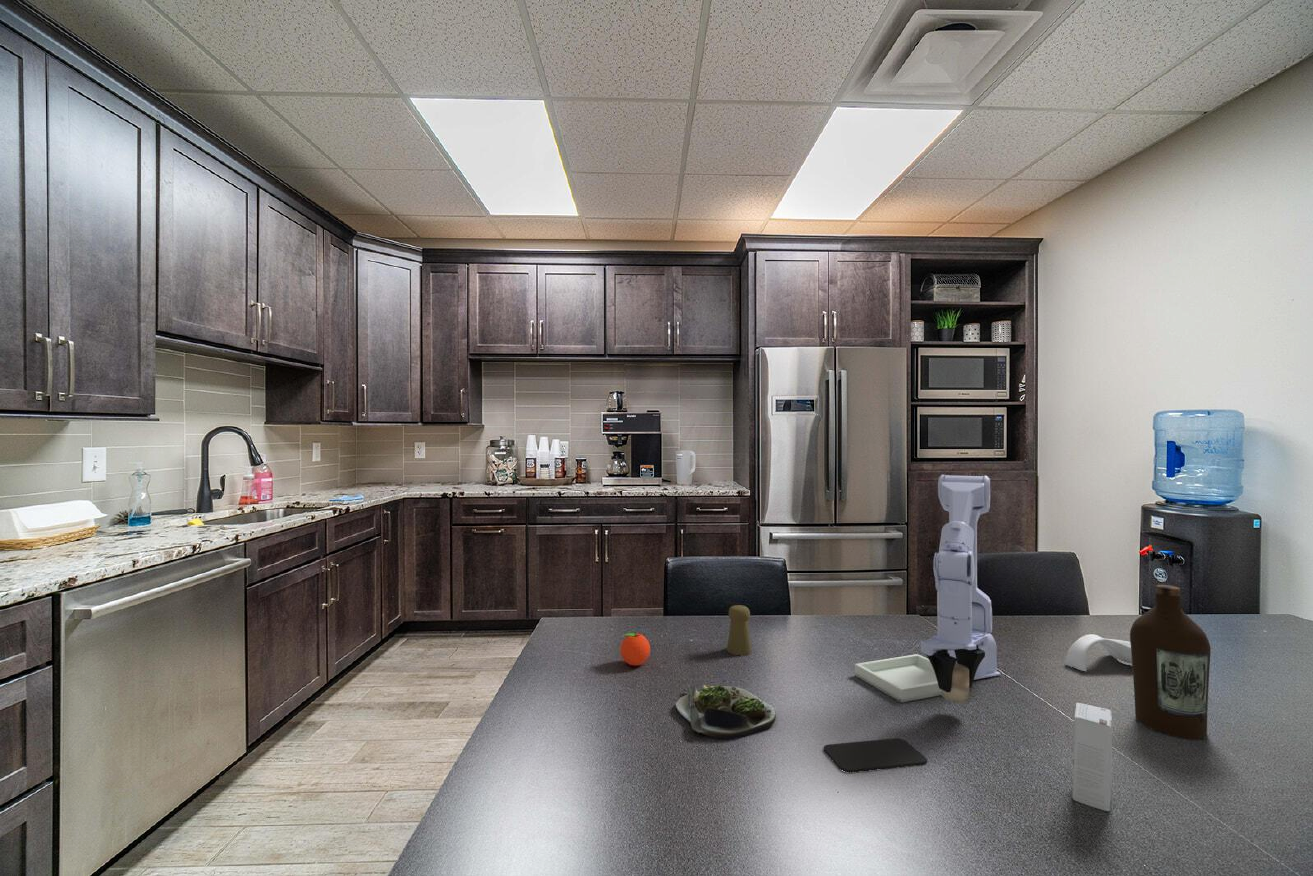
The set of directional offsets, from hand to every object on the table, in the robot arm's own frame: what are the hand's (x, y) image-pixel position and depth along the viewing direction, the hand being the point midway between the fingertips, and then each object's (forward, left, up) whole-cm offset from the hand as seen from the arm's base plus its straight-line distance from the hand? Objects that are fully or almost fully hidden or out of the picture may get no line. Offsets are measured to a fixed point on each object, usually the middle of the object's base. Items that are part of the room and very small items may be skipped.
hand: (955, 688), depth 103 cm
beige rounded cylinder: (0, 0, -2) cm, 2 cm away
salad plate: (+41, -14, -6) cm, 44 cm away
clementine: (+50, -43, -5) cm, 66 cm away
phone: (+24, +6, -6) cm, 25 cm away
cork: (+23, -42, -5) cm, 48 cm away
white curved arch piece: (-55, -6, -5) cm, 56 cm away
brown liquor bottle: (-33, +16, -5) cm, 37 cm away
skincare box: (+2, +25, -5) cm, 26 cm away
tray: (-3, -14, -5) cm, 15 cm away
